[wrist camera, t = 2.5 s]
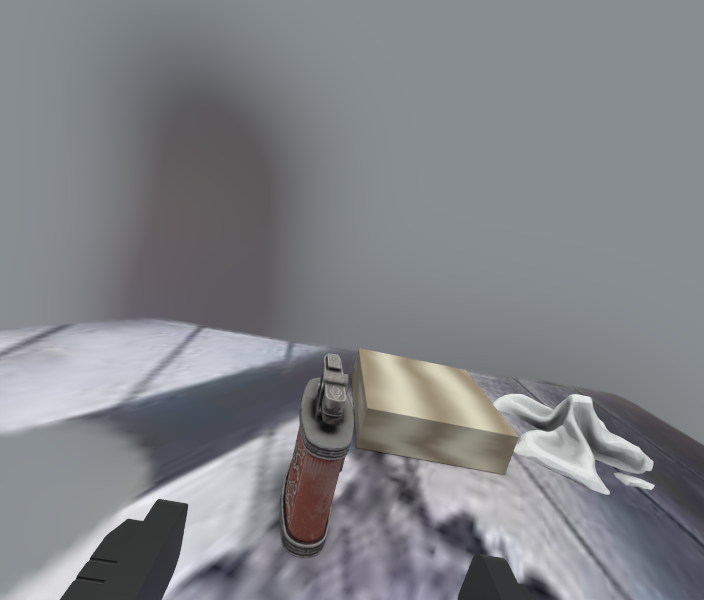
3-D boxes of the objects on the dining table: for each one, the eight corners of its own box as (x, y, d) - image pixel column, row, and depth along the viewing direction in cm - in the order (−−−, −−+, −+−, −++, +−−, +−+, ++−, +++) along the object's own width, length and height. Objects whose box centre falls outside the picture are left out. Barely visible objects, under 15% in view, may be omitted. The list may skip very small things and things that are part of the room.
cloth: (538, 491, 33) (562, 433, 31) (464, 392, 51) (477, 352, 49) (745, 523, 35) (775, 471, 34) (604, 418, 53) (620, 380, 52)
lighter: (330, 560, 21) (371, 410, 19) (272, 555, 21) (307, 400, 18) (327, 465, 29) (356, 351, 27) (285, 459, 28) (311, 343, 26)
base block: (456, 397, 47) (465, 370, 46) (504, 474, 33) (518, 436, 32) (351, 377, 45) (358, 348, 45) (356, 447, 32) (367, 407, 31)
